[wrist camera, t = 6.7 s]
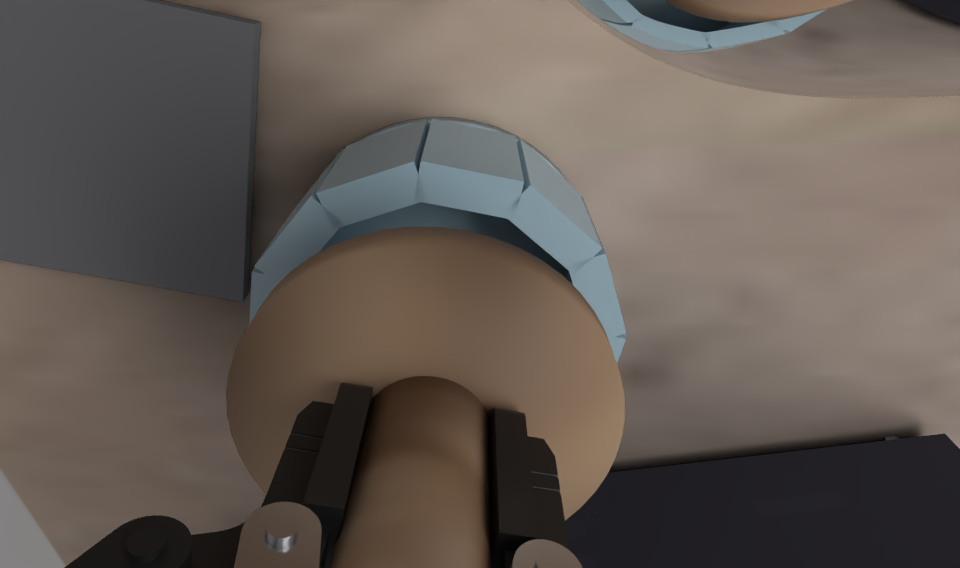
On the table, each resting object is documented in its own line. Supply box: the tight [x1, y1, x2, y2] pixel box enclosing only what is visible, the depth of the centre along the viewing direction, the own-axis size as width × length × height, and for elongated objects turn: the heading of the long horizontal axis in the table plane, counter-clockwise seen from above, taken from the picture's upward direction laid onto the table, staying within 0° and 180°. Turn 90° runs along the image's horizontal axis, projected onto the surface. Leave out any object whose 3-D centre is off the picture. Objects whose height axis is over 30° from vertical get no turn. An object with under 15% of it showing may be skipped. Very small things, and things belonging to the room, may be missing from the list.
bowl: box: [249, 117, 627, 363], centre depth 20 cm, size 10×10×5 cm
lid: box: [226, 227, 625, 568], centre depth 13 cm, size 9×9×6 cm
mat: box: [0, 0, 261, 302], centre depth 20 cm, size 9×9×1 cm
